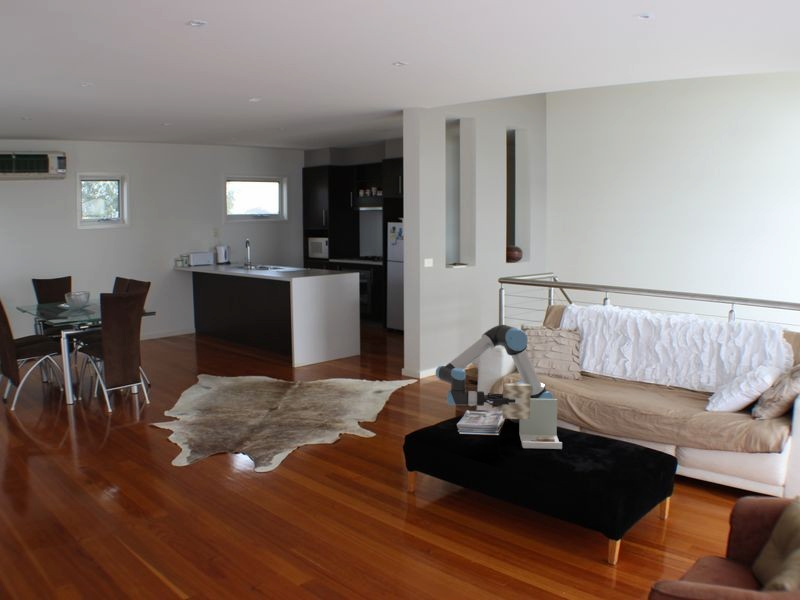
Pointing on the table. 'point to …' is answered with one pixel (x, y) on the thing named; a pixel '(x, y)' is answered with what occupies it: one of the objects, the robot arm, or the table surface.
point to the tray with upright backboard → (540, 424)
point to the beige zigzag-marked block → (516, 408)
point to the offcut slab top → (545, 439)
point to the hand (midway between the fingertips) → (520, 399)
